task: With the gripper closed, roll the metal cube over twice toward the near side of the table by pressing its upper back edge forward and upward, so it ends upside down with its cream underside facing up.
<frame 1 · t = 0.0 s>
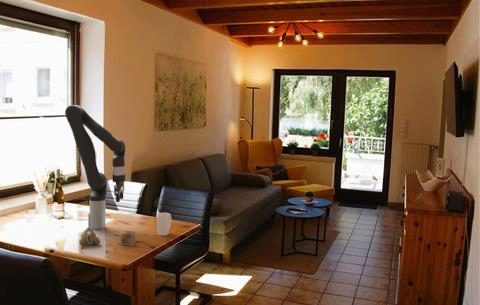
hand: (119, 200, 272), 17 cm above the table, fingers open, 8 cm apart
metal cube: (128, 243, 246), on the table
mug: (165, 233, 266), on the table
ceramic sculpture: (89, 244, 242), on the table
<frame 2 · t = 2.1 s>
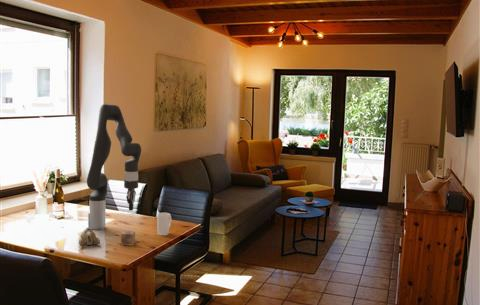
hand: (131, 210, 250), 17 cm above the table, fingers closed
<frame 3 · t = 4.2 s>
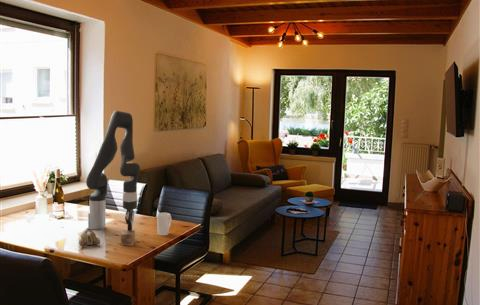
hand: (129, 230, 248), 6 cm above the table, fingers closed
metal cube: (128, 242, 245), on the table, tilted 5°, touching gripper
everything else where it was.
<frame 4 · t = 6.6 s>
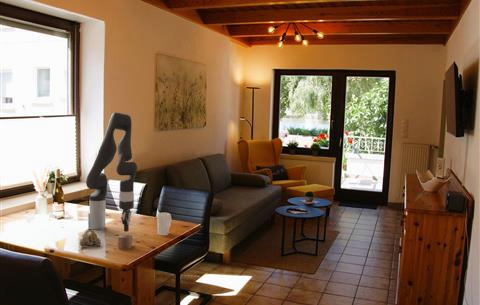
hand: (126, 231, 241), 8 cm above the table, fingers closed
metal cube: (126, 239, 242), point 3 cm above the table, tilted 90°
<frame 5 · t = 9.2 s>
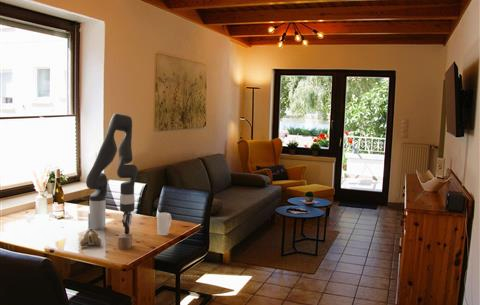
hand: (127, 233, 242), 6 cm above the table, fingers closed
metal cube: (126, 239, 242), point 3 cm above the table, tilted 93°, touching gripper
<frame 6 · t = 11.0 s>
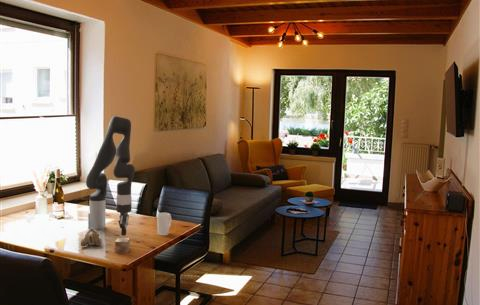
hand: (123, 235, 235), 7 cm above the table, fingers closed
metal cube: (122, 239, 232), point 6 cm above the table, tilted 180°
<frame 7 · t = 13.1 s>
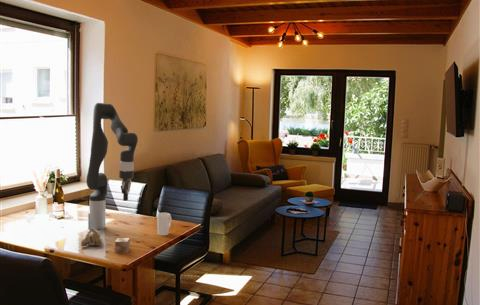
hand: (125, 200, 248), 22 cm above the table, fingers closed
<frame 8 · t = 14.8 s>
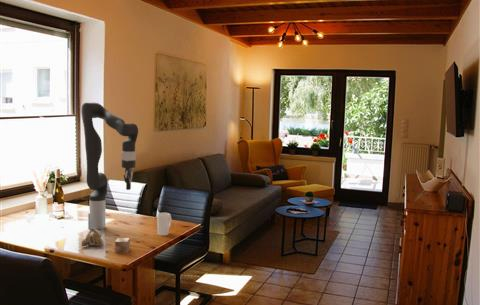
hand: (128, 189, 256), 27 cm above the table, fingers closed
at the end: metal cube tilted 180°; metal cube inside the target area (0.4 cm from its centre), point 5.9 cm above the table; the gripper is holding nothing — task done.
